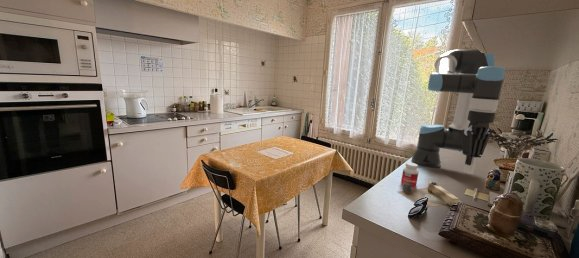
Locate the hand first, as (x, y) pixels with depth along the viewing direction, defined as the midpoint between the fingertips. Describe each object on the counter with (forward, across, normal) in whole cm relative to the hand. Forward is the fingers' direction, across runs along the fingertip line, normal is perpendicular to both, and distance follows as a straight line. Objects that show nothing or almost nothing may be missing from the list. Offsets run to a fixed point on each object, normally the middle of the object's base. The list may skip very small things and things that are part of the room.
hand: (468, 172), depth 89 cm
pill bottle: (+14, +8, -18) cm, 24 cm away
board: (+14, +9, -7) cm, 18 cm away
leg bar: (+12, +5, -5) cm, 14 cm away
